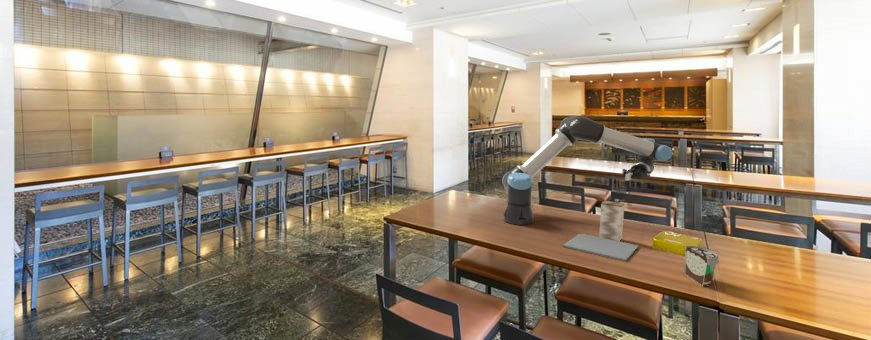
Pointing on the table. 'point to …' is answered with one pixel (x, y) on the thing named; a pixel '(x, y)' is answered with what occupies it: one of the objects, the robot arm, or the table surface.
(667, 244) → the element tile
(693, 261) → the food container
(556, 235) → the table surface
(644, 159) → the robot arm
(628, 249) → the mat
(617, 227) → the tall block
